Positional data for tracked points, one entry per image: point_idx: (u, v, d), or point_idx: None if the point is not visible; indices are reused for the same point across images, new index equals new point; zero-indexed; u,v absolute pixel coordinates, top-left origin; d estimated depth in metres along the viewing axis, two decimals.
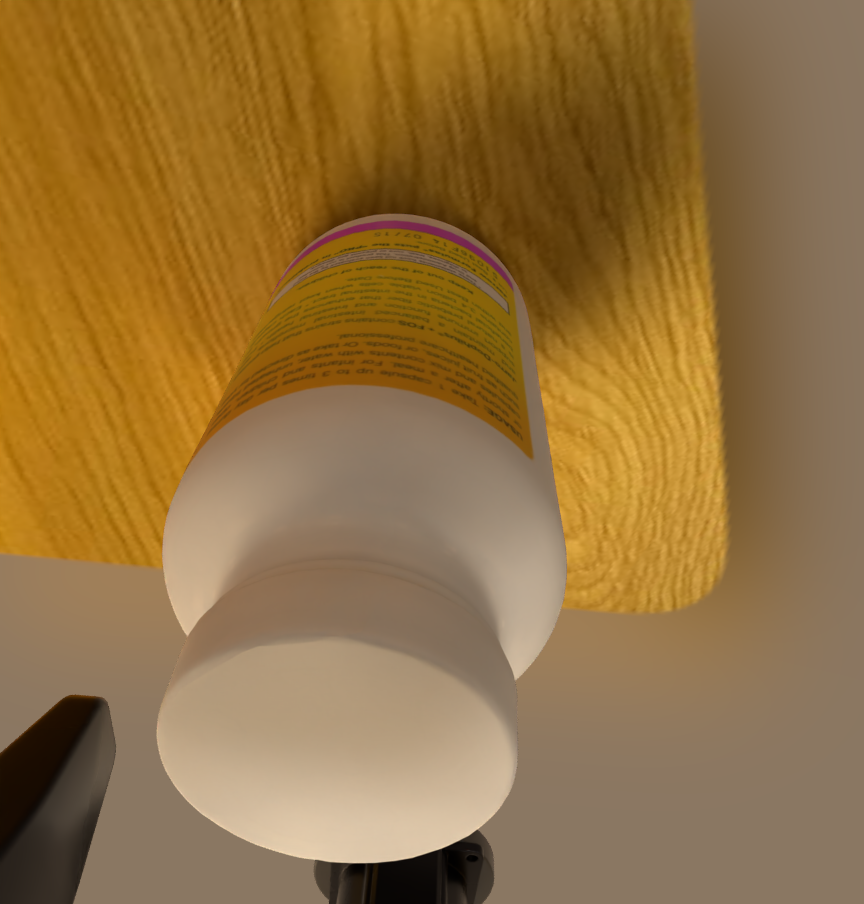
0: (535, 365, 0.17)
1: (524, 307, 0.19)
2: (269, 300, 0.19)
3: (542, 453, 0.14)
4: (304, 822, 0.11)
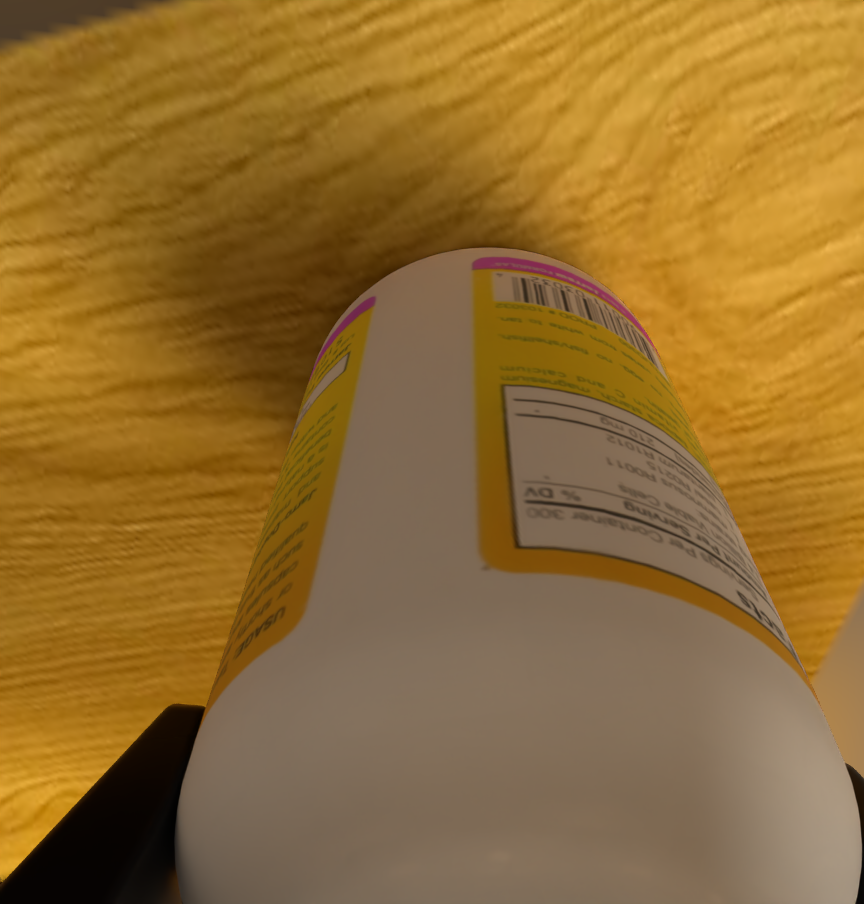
0: (419, 338, 0.11)
1: (409, 278, 0.13)
2: None
3: (351, 545, 0.08)
4: None
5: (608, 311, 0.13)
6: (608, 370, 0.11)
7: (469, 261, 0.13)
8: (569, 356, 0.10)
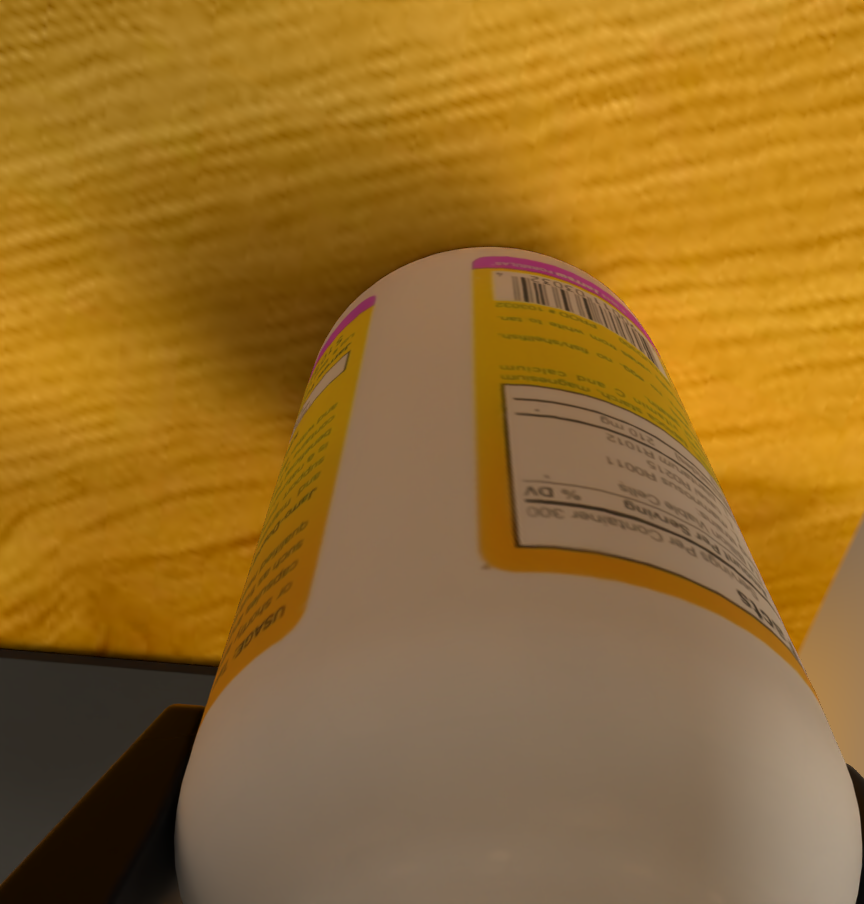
0: (419, 337, 0.11)
1: (409, 277, 0.13)
2: None
3: (351, 544, 0.08)
4: None
5: (608, 310, 0.13)
6: (608, 369, 0.11)
7: (469, 260, 0.13)
8: (569, 355, 0.10)
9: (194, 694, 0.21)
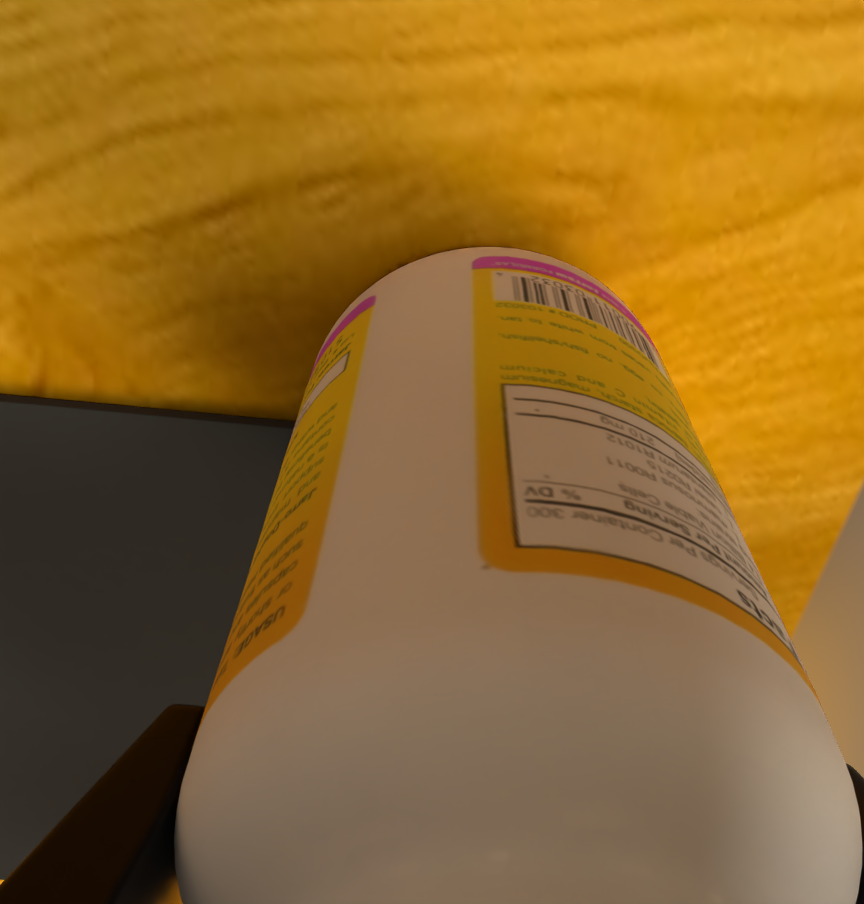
0: (419, 337, 0.11)
1: (409, 277, 0.13)
2: None
3: (351, 544, 0.08)
4: None
5: (608, 310, 0.13)
6: (608, 369, 0.11)
7: (469, 260, 0.13)
8: (568, 355, 0.10)
9: (154, 447, 0.17)
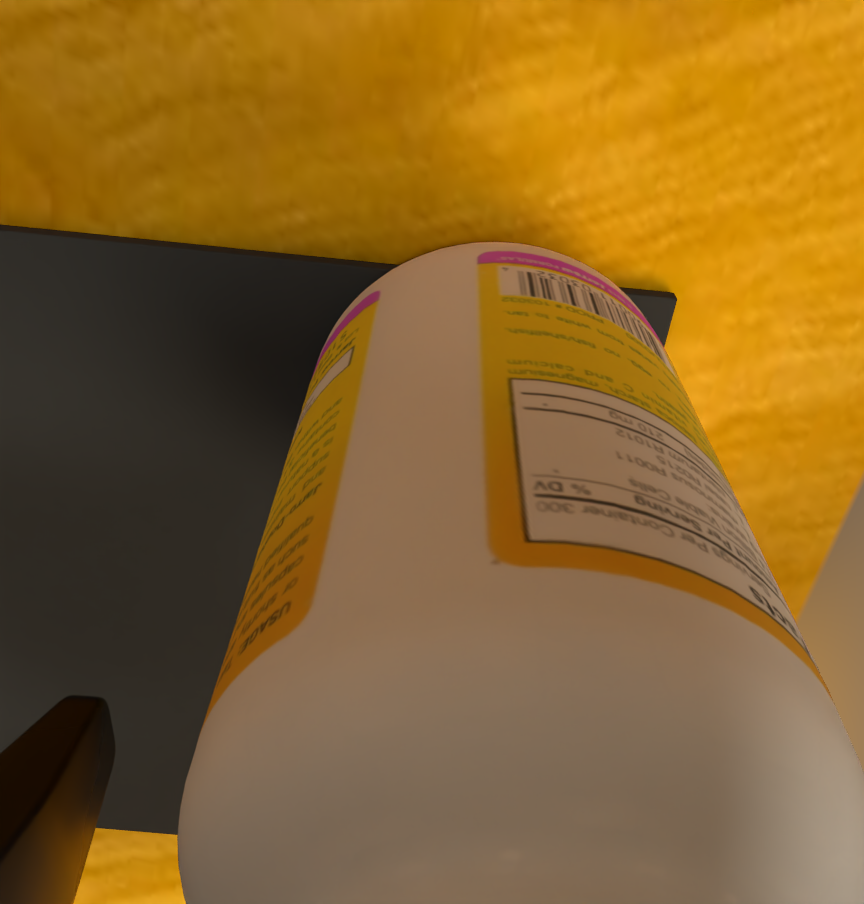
0: (425, 331, 0.11)
1: (414, 272, 0.13)
2: None
3: (358, 539, 0.08)
4: None
5: (615, 306, 0.13)
6: (616, 363, 0.10)
7: (474, 255, 0.13)
8: (576, 350, 0.10)
9: (121, 283, 0.15)
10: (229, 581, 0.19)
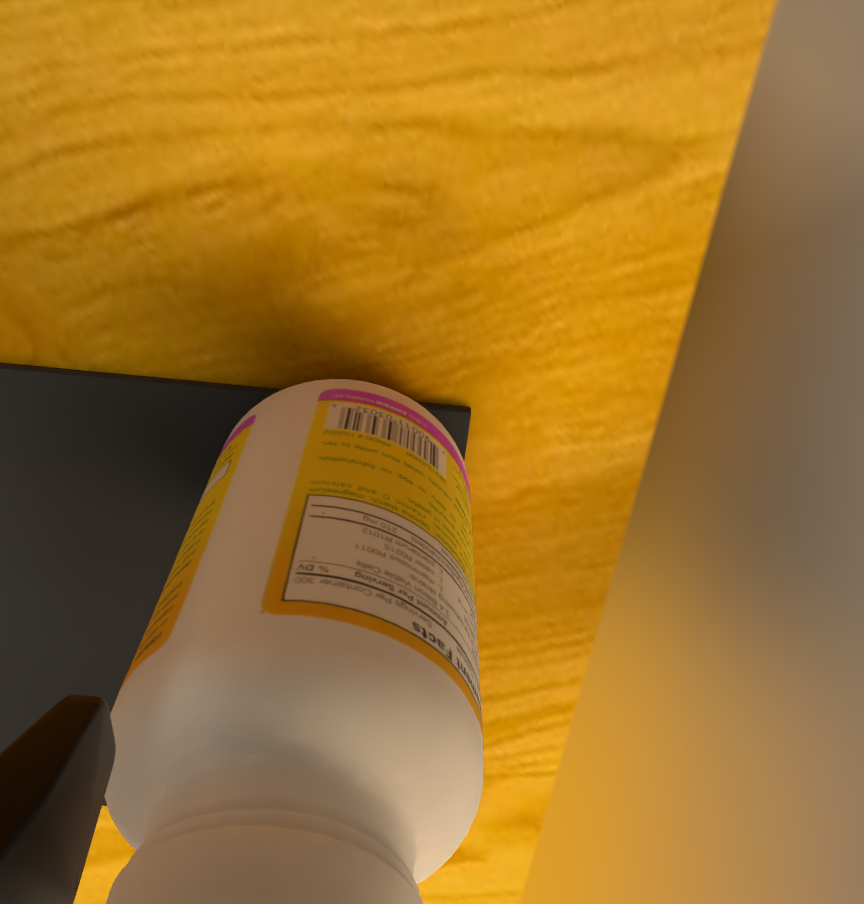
0: (270, 456, 0.17)
1: (278, 403, 0.19)
2: None
3: (200, 597, 0.14)
4: None
5: (408, 429, 0.19)
6: (385, 479, 0.17)
7: (318, 392, 0.19)
8: (359, 471, 0.17)
9: (82, 402, 0.21)
10: None
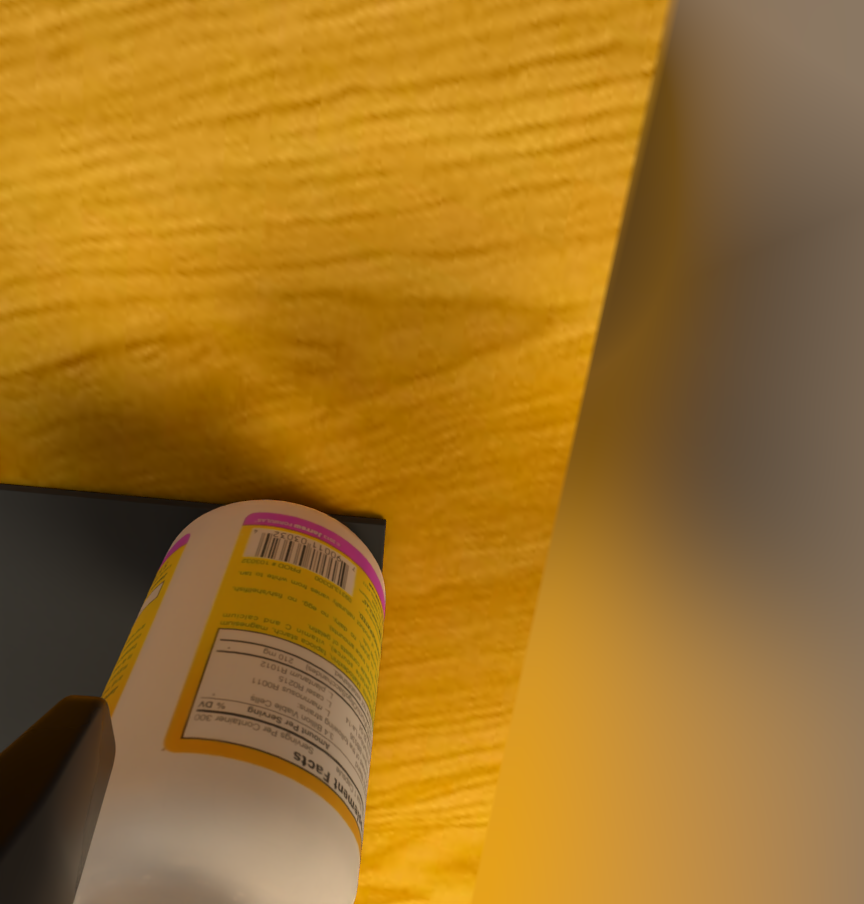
0: (194, 584, 0.20)
1: (209, 525, 0.22)
2: None
3: (117, 729, 0.17)
4: None
5: (320, 551, 0.22)
6: (290, 608, 0.19)
7: (244, 516, 0.22)
8: (267, 601, 0.19)
9: (42, 515, 0.24)
10: None
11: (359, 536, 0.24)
